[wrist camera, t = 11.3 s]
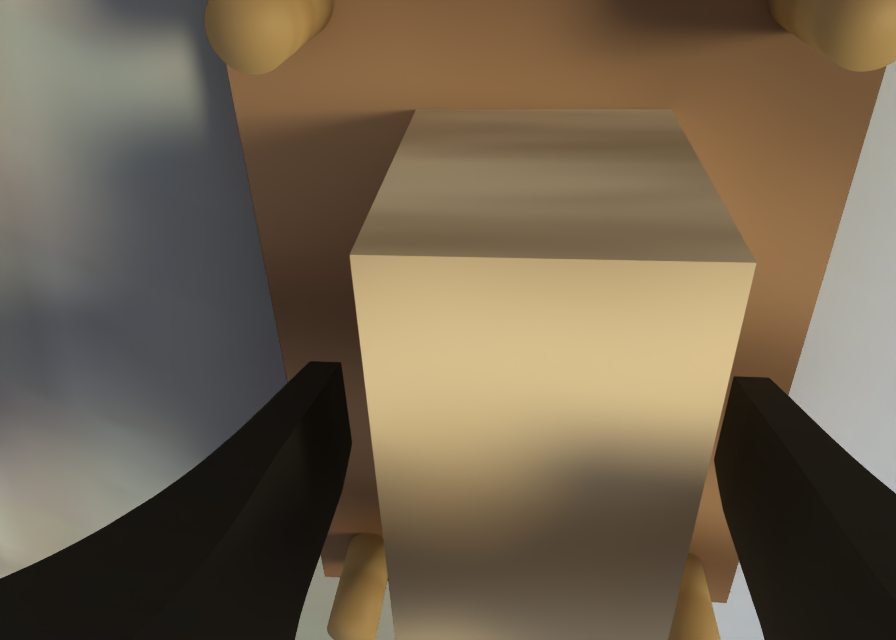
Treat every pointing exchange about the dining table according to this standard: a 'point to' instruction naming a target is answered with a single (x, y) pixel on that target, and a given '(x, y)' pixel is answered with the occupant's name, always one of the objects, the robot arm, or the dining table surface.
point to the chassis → (544, 87)
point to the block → (544, 368)
